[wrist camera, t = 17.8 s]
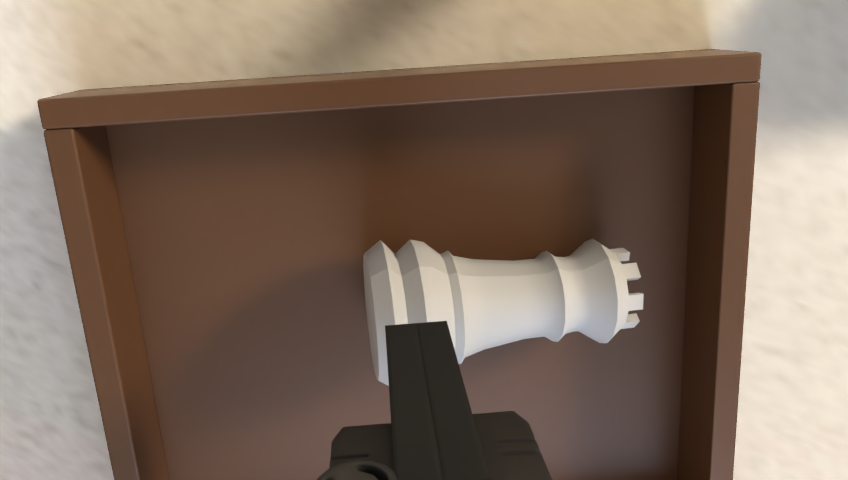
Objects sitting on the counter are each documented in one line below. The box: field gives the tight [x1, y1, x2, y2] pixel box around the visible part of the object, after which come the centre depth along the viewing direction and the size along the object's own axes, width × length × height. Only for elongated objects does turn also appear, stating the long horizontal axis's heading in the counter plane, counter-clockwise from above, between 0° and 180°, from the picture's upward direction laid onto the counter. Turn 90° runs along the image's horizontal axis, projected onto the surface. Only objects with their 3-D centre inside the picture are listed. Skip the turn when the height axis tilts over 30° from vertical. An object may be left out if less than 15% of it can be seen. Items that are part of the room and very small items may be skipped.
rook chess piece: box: [363, 239, 644, 386], centre depth 22 cm, size 4×4×8 cm
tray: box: [38, 49, 761, 480], centre depth 24 cm, size 18×20×3 cm
